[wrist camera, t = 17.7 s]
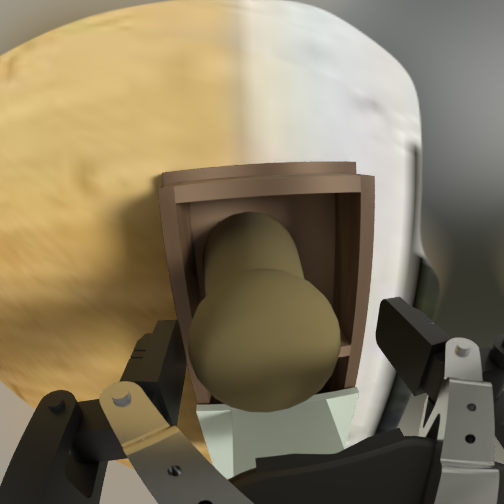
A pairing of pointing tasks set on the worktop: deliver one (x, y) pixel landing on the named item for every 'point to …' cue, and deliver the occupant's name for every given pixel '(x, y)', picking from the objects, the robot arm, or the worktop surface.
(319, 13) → the worktop surface
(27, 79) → the worktop surface
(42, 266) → the worktop surface
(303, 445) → the lid
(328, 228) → the caddy
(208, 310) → the olive rounded piece
